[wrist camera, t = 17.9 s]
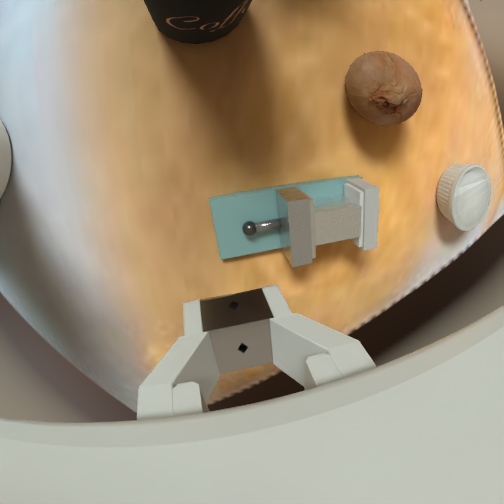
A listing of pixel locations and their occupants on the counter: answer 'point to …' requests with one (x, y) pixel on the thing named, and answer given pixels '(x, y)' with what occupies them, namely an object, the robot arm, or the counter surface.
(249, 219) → the vise
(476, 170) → the ramekin
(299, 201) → the jaw
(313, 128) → the counter surface
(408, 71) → the onion
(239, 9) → the coffee jar
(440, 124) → the counter surface
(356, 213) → the block
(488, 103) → the counter surface
